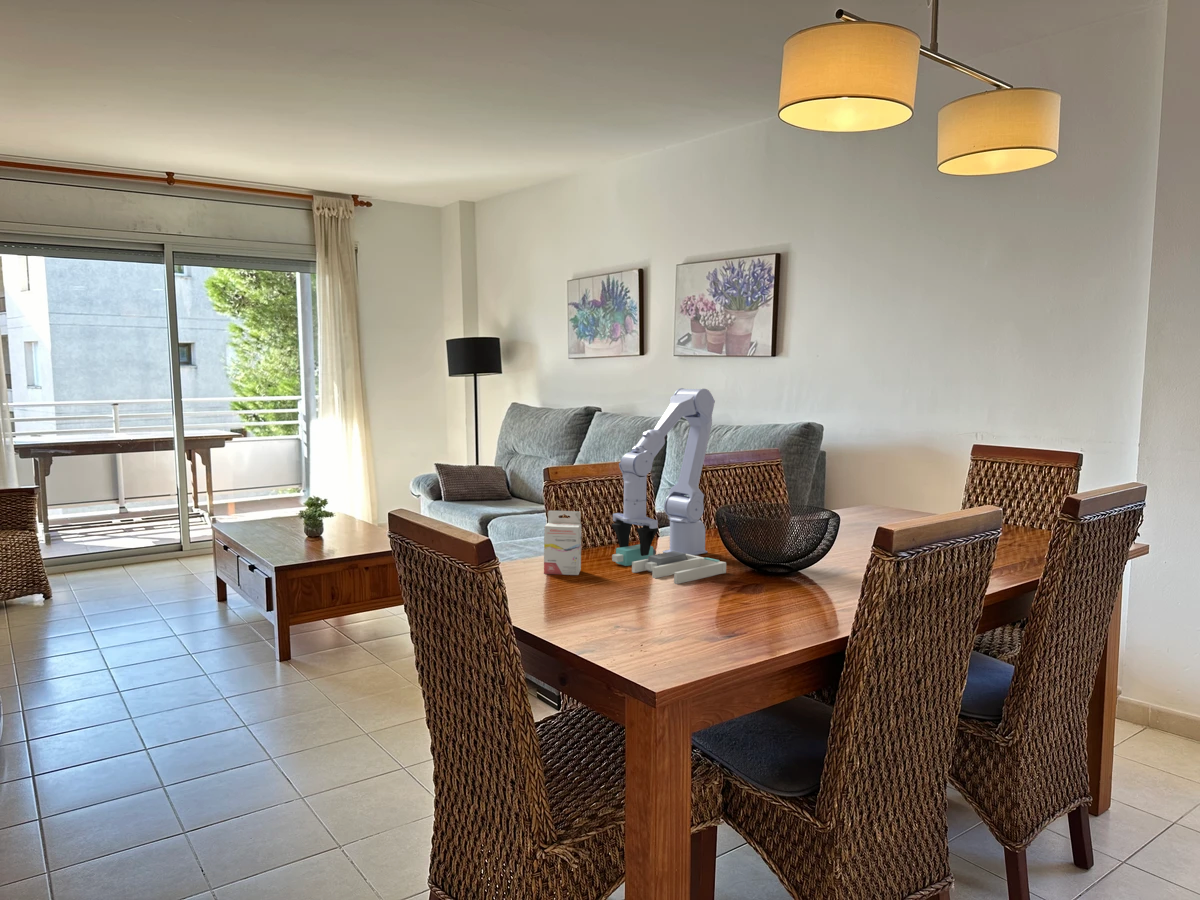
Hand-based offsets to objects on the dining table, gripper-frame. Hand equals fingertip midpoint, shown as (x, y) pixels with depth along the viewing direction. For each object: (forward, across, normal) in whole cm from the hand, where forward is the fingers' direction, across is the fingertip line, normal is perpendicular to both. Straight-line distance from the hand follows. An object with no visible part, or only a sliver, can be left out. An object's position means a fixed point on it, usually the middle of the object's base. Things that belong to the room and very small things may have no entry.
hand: (634, 552), depth 210 cm
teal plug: (+3, 0, 0) cm, 3 cm away
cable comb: (+2, +15, +1) cm, 15 cm away
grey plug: (+3, +12, 0) cm, 12 cm away
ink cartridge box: (+3, -3, -21) cm, 21 cm away
